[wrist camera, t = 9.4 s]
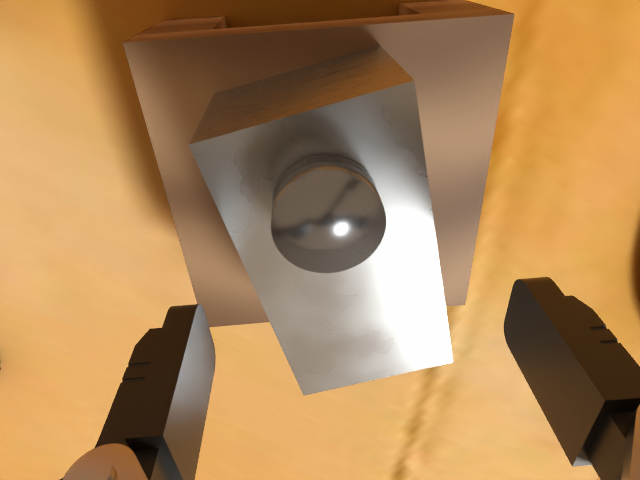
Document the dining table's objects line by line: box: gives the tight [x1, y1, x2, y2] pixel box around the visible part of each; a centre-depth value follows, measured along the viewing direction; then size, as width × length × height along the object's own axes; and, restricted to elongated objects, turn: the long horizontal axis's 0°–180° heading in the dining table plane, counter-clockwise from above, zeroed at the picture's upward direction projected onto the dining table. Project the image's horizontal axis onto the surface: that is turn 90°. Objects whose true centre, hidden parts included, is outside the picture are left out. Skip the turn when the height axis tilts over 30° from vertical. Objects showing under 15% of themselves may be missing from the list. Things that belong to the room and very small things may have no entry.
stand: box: [123, 0, 514, 327], centre depth 19 cm, size 12×12×5 cm
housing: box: [189, 45, 453, 395], centre depth 14 cm, size 10×6×6 cm, turn 15°
